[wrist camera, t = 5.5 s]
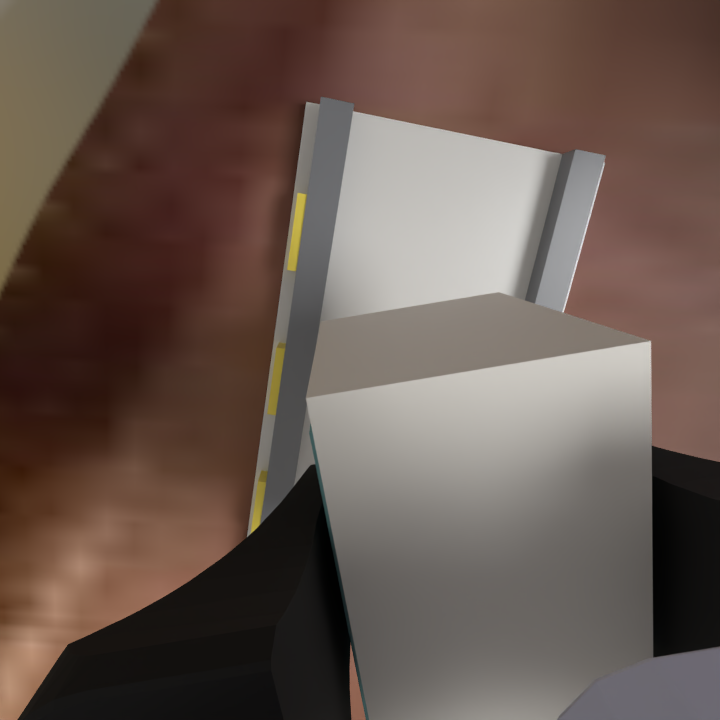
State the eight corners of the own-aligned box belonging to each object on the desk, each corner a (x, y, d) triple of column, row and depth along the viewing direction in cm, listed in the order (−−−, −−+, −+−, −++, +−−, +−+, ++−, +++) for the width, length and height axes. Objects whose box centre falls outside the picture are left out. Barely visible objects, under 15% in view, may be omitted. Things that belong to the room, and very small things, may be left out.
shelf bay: (306, 104, 15) (304, 93, 14) (600, 164, 16) (620, 158, 15) (241, 581, 20) (235, 603, 18) (477, 609, 20) (486, 631, 19)
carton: (504, 290, 12) (663, 339, 6) (527, 563, 14) (662, 794, 8) (315, 322, 12) (294, 399, 6) (364, 591, 14) (384, 843, 8)
